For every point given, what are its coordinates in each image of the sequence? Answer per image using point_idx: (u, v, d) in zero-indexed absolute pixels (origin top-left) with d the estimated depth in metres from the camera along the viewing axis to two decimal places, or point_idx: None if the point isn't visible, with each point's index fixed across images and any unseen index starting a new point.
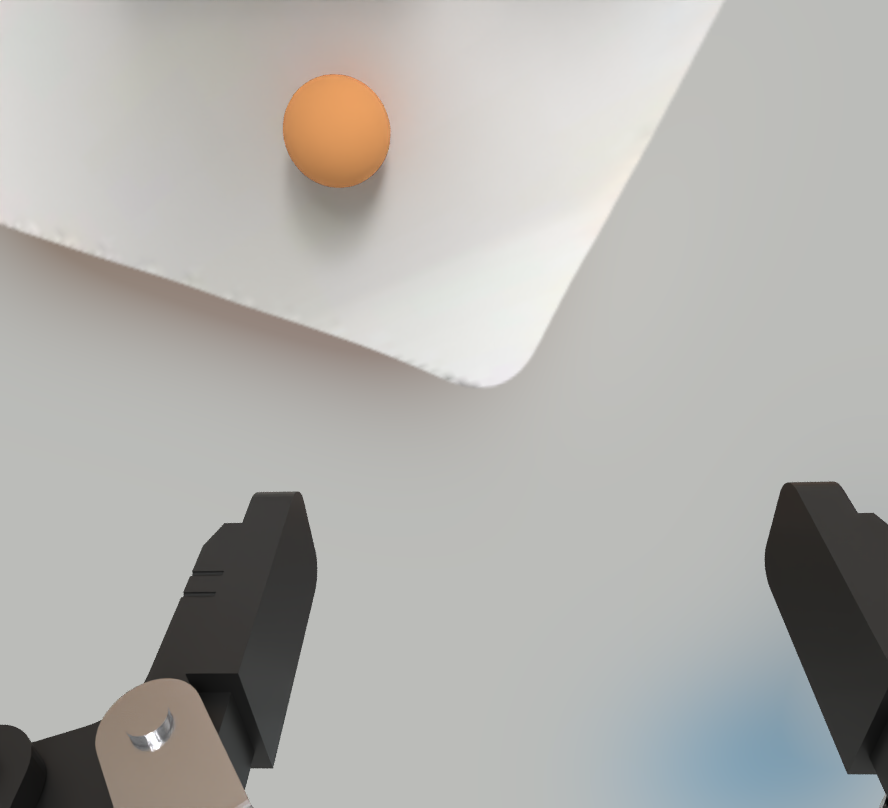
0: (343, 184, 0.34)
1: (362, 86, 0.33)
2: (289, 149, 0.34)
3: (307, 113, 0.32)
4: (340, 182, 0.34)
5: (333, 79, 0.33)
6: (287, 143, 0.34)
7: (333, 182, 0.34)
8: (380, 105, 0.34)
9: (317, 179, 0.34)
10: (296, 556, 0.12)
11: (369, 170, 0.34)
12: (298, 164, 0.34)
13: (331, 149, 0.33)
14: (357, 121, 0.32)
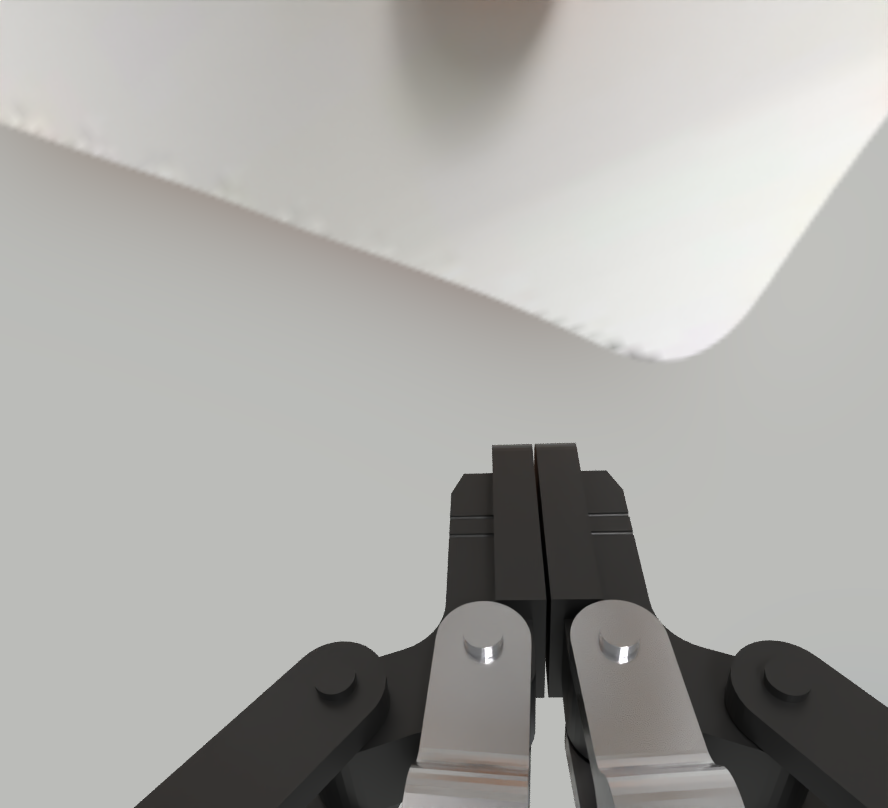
0: None
1: None
2: None
3: None
4: None
5: None
6: None
7: None
8: None
9: None
10: None
11: None
12: None
13: None
14: None
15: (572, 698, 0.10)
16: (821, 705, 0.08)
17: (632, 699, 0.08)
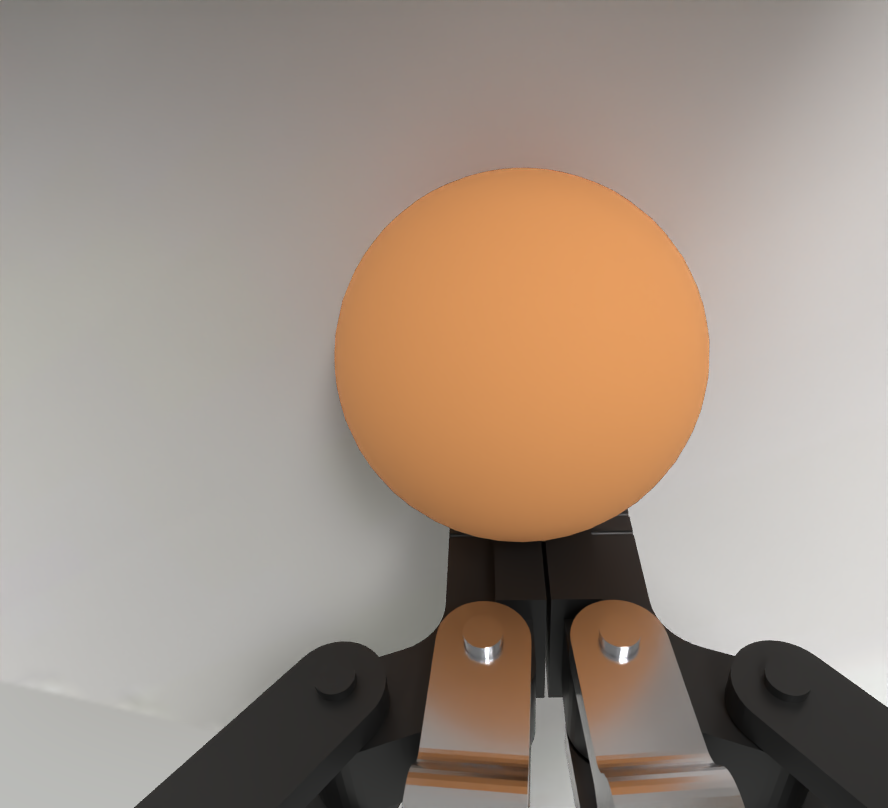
0: (546, 421, 0.08)
1: None
2: (351, 310, 0.09)
3: (449, 183, 0.09)
4: (537, 392, 0.08)
5: None
6: (349, 298, 0.09)
7: (507, 396, 0.08)
8: None
9: (437, 389, 0.08)
10: None
11: (661, 382, 0.08)
12: (372, 343, 0.08)
13: (531, 223, 0.08)
14: (627, 201, 0.09)
15: (572, 698, 0.10)
16: (821, 705, 0.08)
17: (632, 699, 0.08)
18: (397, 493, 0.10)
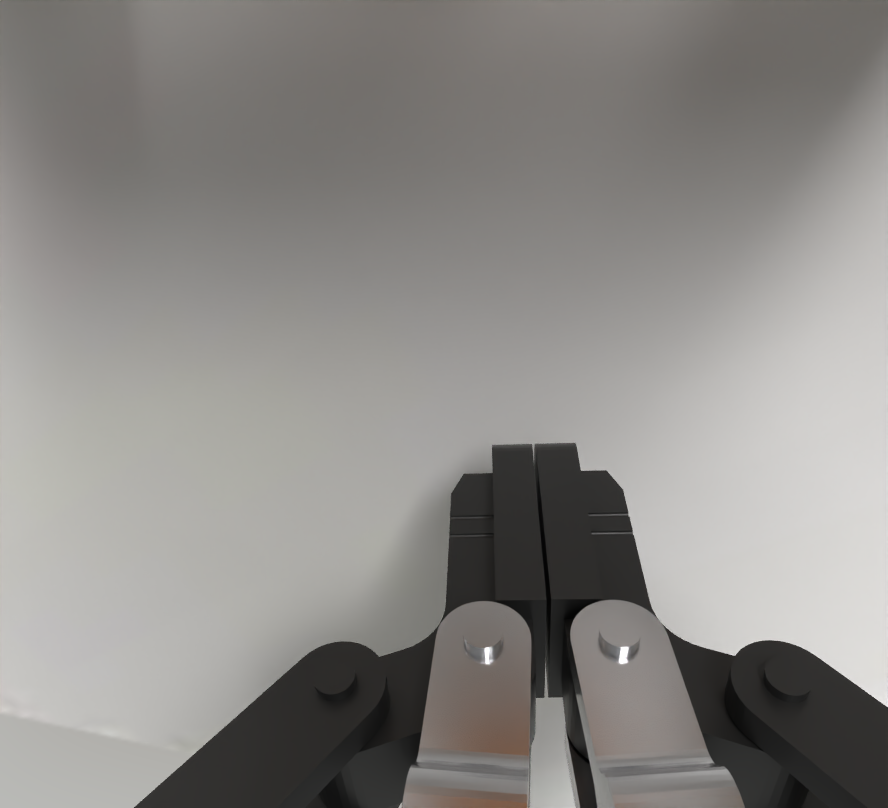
0: None
1: None
2: None
3: None
4: None
5: None
6: None
7: None
8: None
9: None
10: None
11: None
12: None
13: None
14: None
15: (572, 698, 0.10)
16: (821, 705, 0.08)
17: (632, 699, 0.08)
18: None
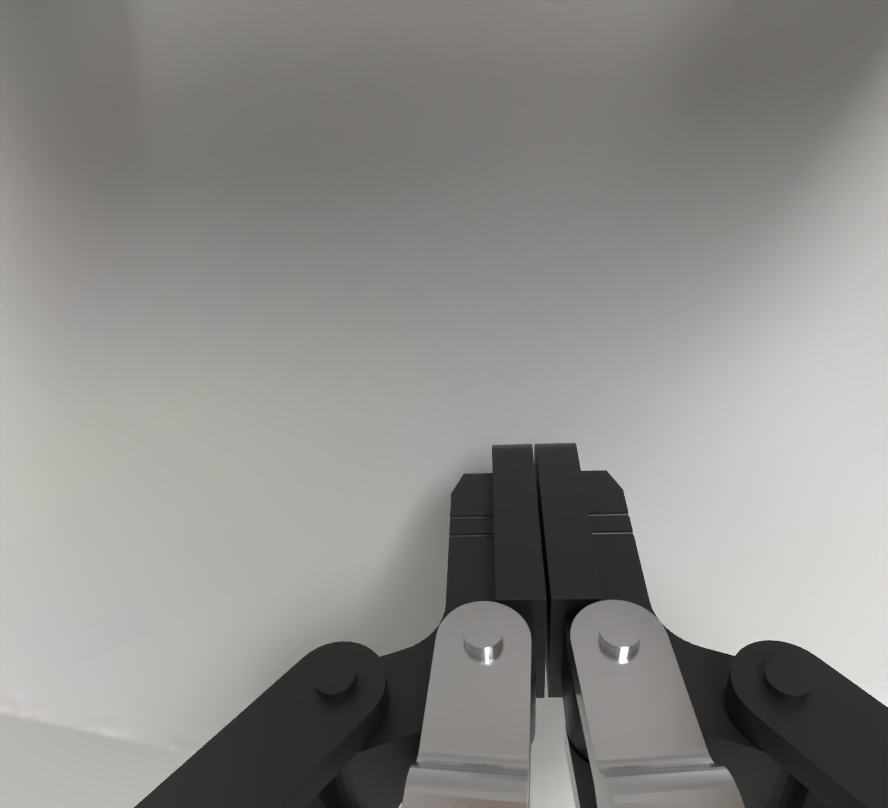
0: None
1: None
2: None
3: None
4: None
5: None
6: None
7: None
8: None
9: None
10: None
11: None
12: None
13: None
14: None
15: (572, 698, 0.10)
16: (821, 705, 0.08)
17: (632, 699, 0.08)
18: None
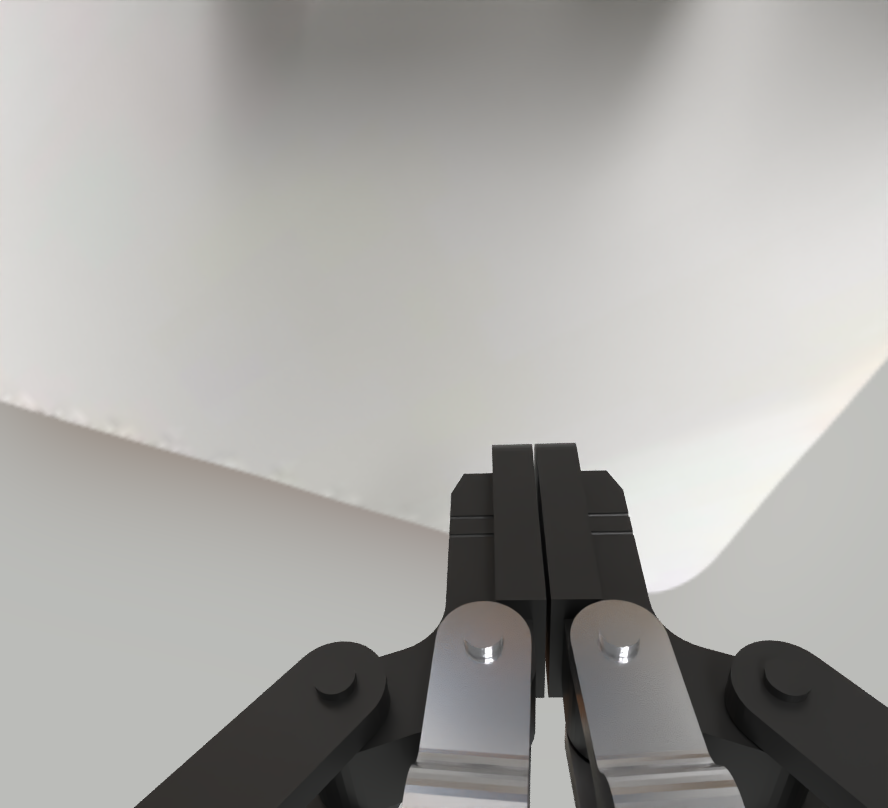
0: None
1: None
2: None
3: None
4: None
5: None
6: None
7: None
8: None
9: None
10: None
11: None
12: None
13: None
14: None
15: (572, 698, 0.10)
16: (821, 705, 0.08)
17: (632, 699, 0.08)
18: None
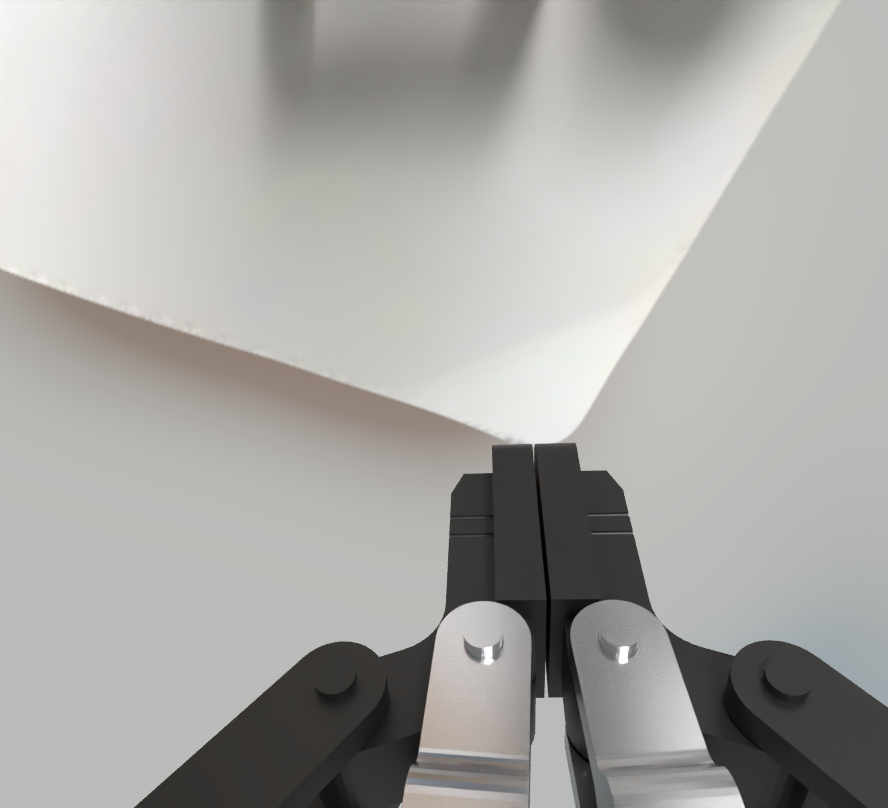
0: None
1: None
2: None
3: None
4: None
5: None
6: None
7: None
8: None
9: None
10: None
11: None
12: None
13: None
14: None
15: (572, 698, 0.10)
16: (821, 705, 0.08)
17: (632, 699, 0.08)
18: None
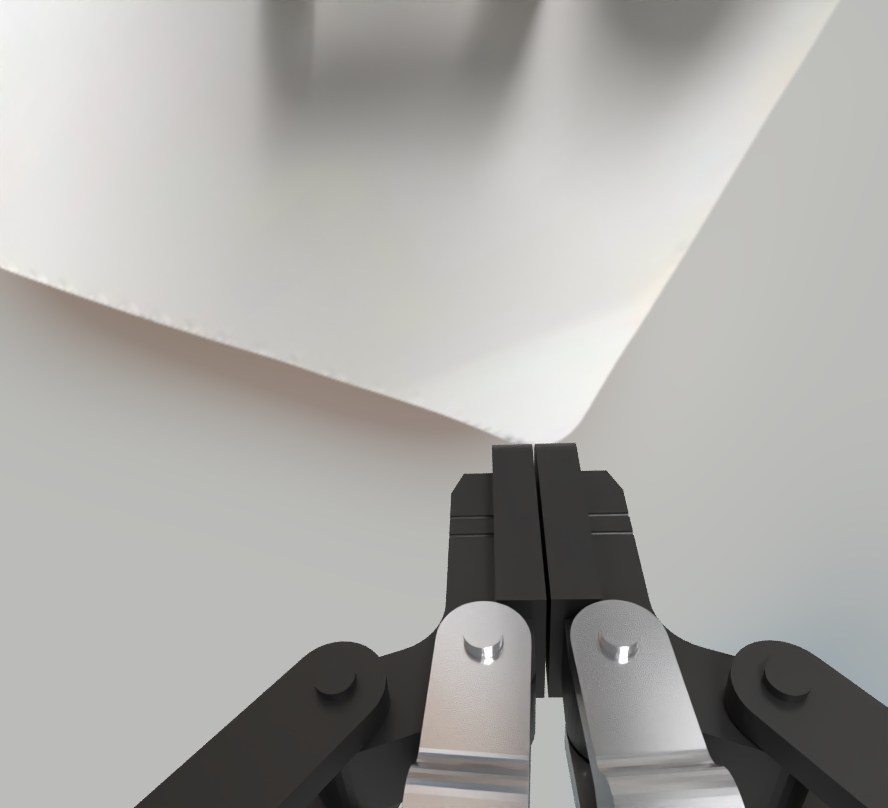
0: None
1: None
2: None
3: None
4: None
5: None
6: None
7: None
8: None
9: None
10: None
11: None
12: None
13: None
14: None
15: (572, 698, 0.10)
16: (821, 705, 0.08)
17: (632, 699, 0.08)
18: None
